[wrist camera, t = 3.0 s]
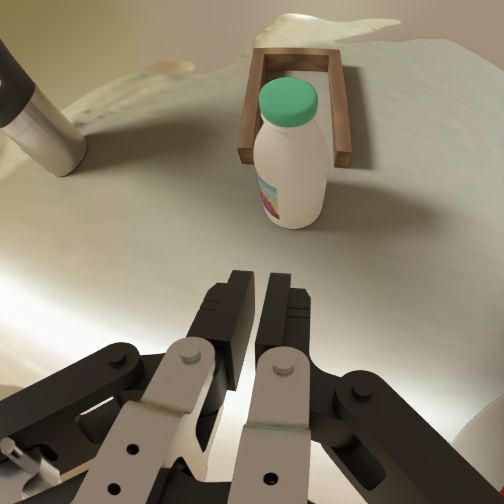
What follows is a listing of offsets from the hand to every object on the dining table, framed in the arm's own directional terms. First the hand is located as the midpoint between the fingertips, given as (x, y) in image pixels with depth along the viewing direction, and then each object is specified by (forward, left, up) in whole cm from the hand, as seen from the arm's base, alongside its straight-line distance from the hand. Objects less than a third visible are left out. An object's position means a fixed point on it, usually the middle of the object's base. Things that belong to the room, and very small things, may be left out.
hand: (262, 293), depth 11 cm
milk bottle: (0, +16, -26) cm, 31 cm away
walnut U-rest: (0, +32, -26) cm, 41 cm away
